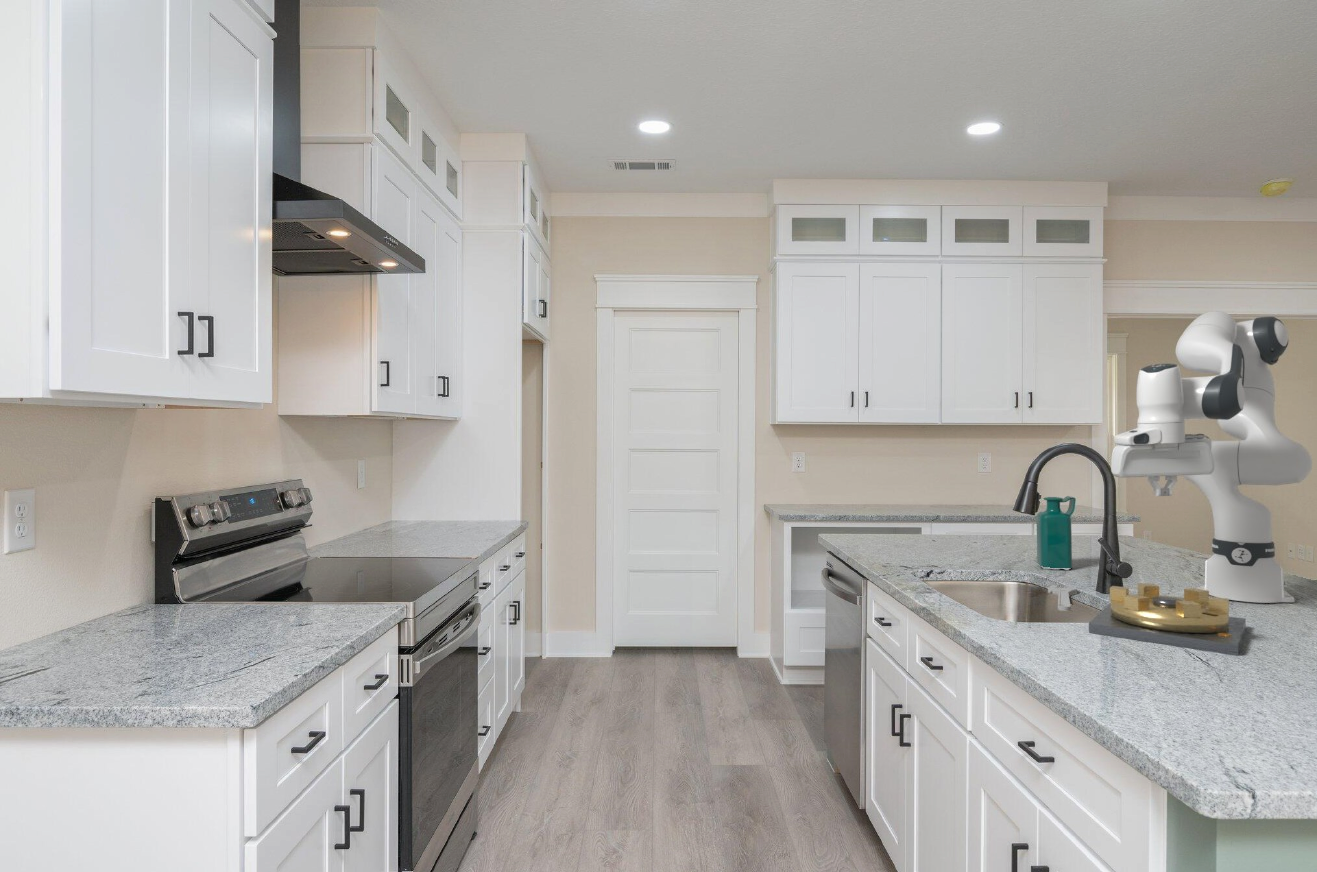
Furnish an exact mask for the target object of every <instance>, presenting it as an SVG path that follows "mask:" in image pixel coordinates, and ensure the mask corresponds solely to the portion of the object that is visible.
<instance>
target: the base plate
mask: <svg viewBox="0 0 1317 872" xmlns="http://www.w3.org/2000/svg"><path fill="white" fill-rule="evenodd" d="M1246 625H1247V622H1246V618H1243V617H1233V616H1229V628H1228V629H1227V630H1224V631H1220V632H1211V633H1191V632H1176V631H1167V630H1159V629H1153V628H1147V627H1142V626H1138V625H1133V624H1130V623H1126V622H1123V621H1120V620H1118V619H1116V618H1114V617H1113V616H1112V615H1111V602H1110V603H1109V604H1108V605H1107V606H1105V608H1103V610H1101V611H1100V612H1099V613H1098V614H1097V615H1096V616H1095V617H1094V618H1093V619H1092V620H1090V622H1088V633H1089V634H1095V635H1099V636H1101V635H1102V636H1108V637H1114V638H1121V639H1128V640H1134V641H1140V642H1141V641H1142V642H1147V643H1154V644H1161V645H1167V646H1173V647H1174V646H1175V647H1179V648H1186V649H1191V650H1197V651H1198V650H1199V651H1207V652H1213V653H1219V654H1224V655H1225V654H1226V655H1233V656H1239V654H1240V651H1241V647H1242V643H1243V639H1244V636H1245V632H1246V629H1247V626H1246Z"/></svg>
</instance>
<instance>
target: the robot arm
mask: <svg viewBox="0 0 1317 872" xmlns="http://www.w3.org/2000/svg"><path fill="white" fill-rule="evenodd" d="M1288 346H1289V333H1288V329H1287V327H1286V326H1285V324H1284V323H1283V322H1282V321H1281V320H1280V319H1278V318H1277V317H1275V316H1261V317H1256V318H1254V319H1250V320H1249V319H1248V320H1244V321H1239V322H1237V321H1236V320H1235V318H1234V317H1233V316H1232V315H1230V314H1229V313H1227V312H1224V311H1218V310H1214V311H1208V312H1205V313H1201V314H1200V315H1199V316H1197V317H1196V318H1194V320H1193V321H1192V322H1191V323H1190V324H1189V325H1188V326H1187V327H1186V328H1185V330H1184V331H1183V333H1182V334H1181V335H1180V337H1179V339H1178V340H1177V343H1176V346H1175V356H1176V357H1175V358H1176V359H1177V361H1178V362H1179V363H1180V364H1181V366H1182V367H1183V368H1185V369H1187V370H1188V371H1190V372H1192V373H1193V372H1194V373H1196V374H1205V375H1206V374H1208V375H1209V374H1213V375H1209V376H1196V377H1182V373H1181V368H1180V366H1179V364H1175V363H1159V364H1157V363H1156V364H1153V365H1152V364H1151V365H1146V366H1145V367H1142V368H1141V369H1139V371H1138V376H1137V381H1136V396H1135V397H1136V407H1137V409H1138V416H1137V420H1136V423H1137V424H1136V425H1137V426H1136V428H1133V429H1131V430H1127V431H1124V432H1122V433H1119V434H1118V433H1117V434H1116V435H1115V436H1114V438H1113V441H1114V444H1115V447H1113V450H1112V453H1111V462H1110V466H1111V467H1110V469H1111V470H1110V471H1111V473H1112V475H1113V476H1114V477H1116V478H1122V479H1123V478H1125V479H1126V478H1146V477H1147V482H1148V483H1149V484H1150V486H1151V487H1152V488H1153V496H1154V497H1171V496H1173V488H1174V487H1175V485H1176V483H1177V482H1178V476H1181V477H1182V476H1183V477H1184V478H1185V479H1186V480H1187V481H1189V482H1191V483H1192V484H1194V485H1195V486H1196V488H1198V489H1199V490H1200V491H1202V493H1203V494H1204V495H1205V497H1206V498H1207V500H1208V503H1209V505H1210V507H1211V511H1212V516H1213V517H1212V518H1213V529H1214V530H1213V531H1214V535H1213V536H1214V537H1213V538H1212V540H1211V541H1212V542H1211V547H1212V548H1211V551H1212V553H1213V554H1212V555H1211V556H1210V557H1209V558H1208V559H1206V560H1205V563H1204V566H1205V567H1204V568H1205V569H1204V584H1203V585H1200V586H1197V587H1196V588H1197V589H1202V590H1207V591H1209V596H1210V597H1218V598H1227V599H1229V601H1230V600H1232V601H1238V602H1246V603H1257V604H1258V603H1260V604H1265V603H1266V604H1268V603H1269V604H1274V603H1296V600H1295V599H1296V598H1295V597H1294V596H1293V595H1291V594H1290V593H1289V592H1287V591H1286V590H1284V587H1285V585H1286V583H1285V581H1284V569H1283V566H1281V564H1280V563H1278V562H1277V561H1276V560H1275V558H1274V557H1275V556H1276V552H1275V551H1276V546H1275V542H1274V541H1273V532H1272V531H1273V528H1272V527H1273V526H1272V525H1273V523H1272V522H1273V519H1272V513H1271V511H1270V509H1269V508H1268V507H1267V506H1266V505H1265V504H1264V503H1261V502H1259V501H1258V500H1255V499H1252V498H1250V497H1248V496H1245V495H1243V494H1242V493H1241V491H1240V490H1239V486H1242V485H1243V486H1244V485H1246V486H1247V485H1249V486H1250V485H1251V486H1255V485H1256V486H1283V485H1292V484H1299V483H1301V482H1303V481H1304V480H1306V478H1308V476H1309V474H1311V470H1312V469H1313V468H1312V467H1313V459H1312V456H1311V453H1310V452H1309V451H1308V449H1307V448H1306V447H1305V446H1303V445H1302V444H1300V443H1299V442H1296V441H1294V440H1292V439H1291V438H1289V437H1287V436H1286V435H1284V434H1283V433H1282V432H1281V431H1280V429H1279V428H1278V427H1277V424H1276V421H1275V402H1276V401H1275V398H1276V397H1275V396H1276V393H1275V392H1276V391H1275V384H1274V378H1273V374H1272V372H1271V370H1270V368H1269V367H1268V365H1269V366H1273V365H1276V364H1277V363H1278V361H1279V358H1280V357H1281V356H1283V354H1284V353H1285V351H1286V350H1287V348H1288ZM1201 419H1202V420H1203V419H1204V420H1205V419H1206V420H1217V424H1218V427H1219V428H1220V429H1221V430H1222V431H1223V432H1225V433H1226V434H1227V435H1229V436H1231V437H1233V438H1236V439H1238V440H1212V439H1211V438H1210V437H1209V436H1208V435H1205V434H1204V433H1196V434H1193V433H1192V434H1191V433H1186V423H1185V421H1186V420H1201ZM1160 477H1164V478H1165V481H1166V483H1165V485H1164V487H1162V486H1160V485H1159V483H1158V482H1160Z"/></svg>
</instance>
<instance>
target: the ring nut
mask: <svg viewBox="0 0 1317 872" xmlns="http://www.w3.org/2000/svg"><path fill="white" fill-rule="evenodd" d="M1136 585H1137V594H1130V593H1129V590H1130V589H1129V587H1126V586H1117V585H1112V586H1110V587H1109V600H1110V603H1111V615H1112V616H1113V617H1114V618H1116V619H1118V620H1120V621H1123V622H1126V623H1130V624H1133V625H1138V626H1142V627H1147V628H1153V629H1159V630H1167V631H1176V632H1191V633H1211V632H1220V631H1224V630H1227V629H1228V628H1229V617H1230V614H1229V613H1230V600H1229V599H1227V598H1219V597H1215V596H1210V595H1209V591H1207V590H1202V589H1197V587H1193V588H1192V587H1190V588H1184V589H1183V596H1184V597H1180V596H1179V597H1178V596H1170V595H1162V594H1161V595H1160V586H1159V585H1157V584H1155V583H1145V582H1144V583H1143V582H1142V583H1141V582H1137V584H1136Z"/></svg>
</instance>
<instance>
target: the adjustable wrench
mask: <svg viewBox="0 0 1317 872" xmlns="http://www.w3.org/2000/svg"><path fill="white" fill-rule="evenodd" d="M1047 593H1049V594H1053V595H1057V610H1058V611H1060V612H1061V611H1064V612H1070V611H1072V610H1071V609H1072V608H1071V607H1072V606H1071V601H1070V597H1071V596H1073V595H1077V594H1078V588H1077V587H1076V586H1073V585H1067V584H1066V585H1065V587H1059V586H1057V585H1054V584H1053V585H1050V586H1049V587H1048V588H1047Z"/></svg>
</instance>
